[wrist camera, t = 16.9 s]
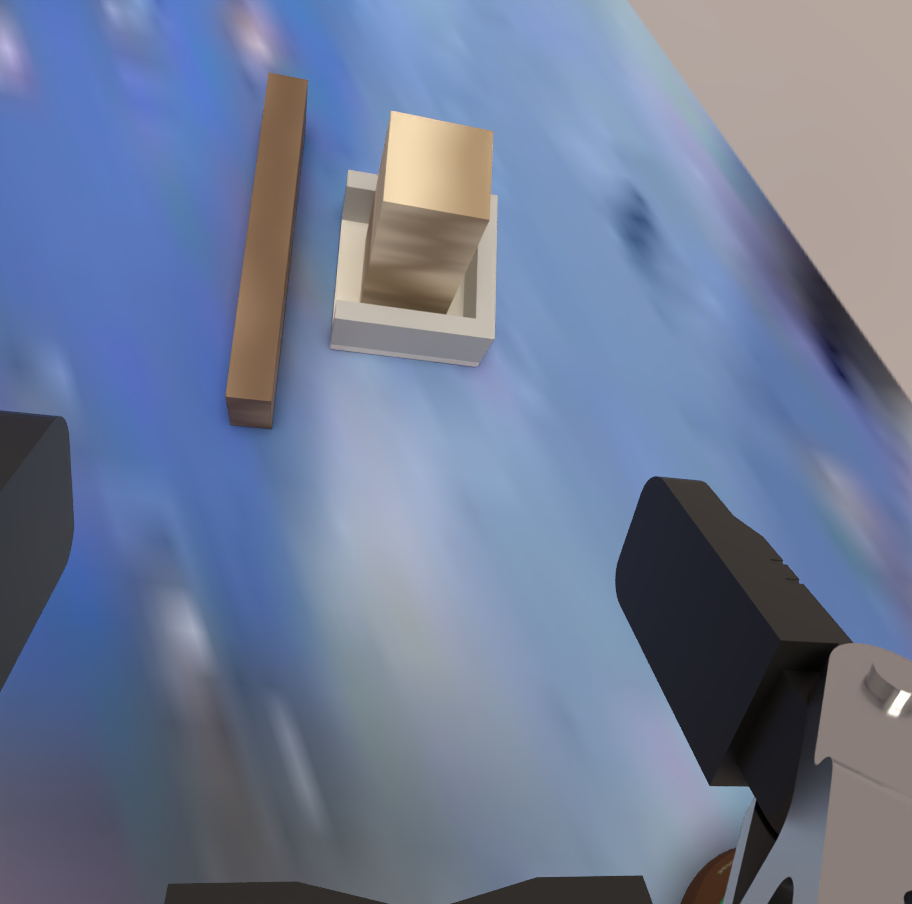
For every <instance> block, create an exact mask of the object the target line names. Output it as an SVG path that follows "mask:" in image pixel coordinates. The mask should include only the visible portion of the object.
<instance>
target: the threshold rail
mask: <svg viewBox="0 0 912 904" xmlns="http://www.w3.org/2000/svg"><path fill="white" fill-rule="evenodd" d="M307 86H308V80H305V79H299V78H294V77H289V76H284V75H279V74H274V73H269V74H268V81H267V89H266V96H265V104H264V111H263V119H262V126H261V134H260V141H259V149H258V156H257V164H256V171H255V179H254V186H253V194H252V201H251V209H250V216H249V224H248V231H247V239H246V246H245V254H244V261H243V269H242V276H241V284H240V291H239V299H238V306H237V314H236V321H235V329H234V336H233V344H232V351H231V359H230V366H229V373H228V381H227V388H226V396H225V397H226V403H227V408H228V414H229V419H230V425H236V426H246V427H256V428H266V429H272V423H273V414H274V405H275V396H276V387H277V378H278V369H279V360H280V352H281V343H282V334H283V325H284V316H285V307H286V298H287V289H288V280H289V271H290V262H291V253H292V245H293V236H294V227H295V218H296V209H297V200H298V191H299V182H300V173H301V164H302V155H303V147H304V138H305V125H306V105H307Z"/></svg>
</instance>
